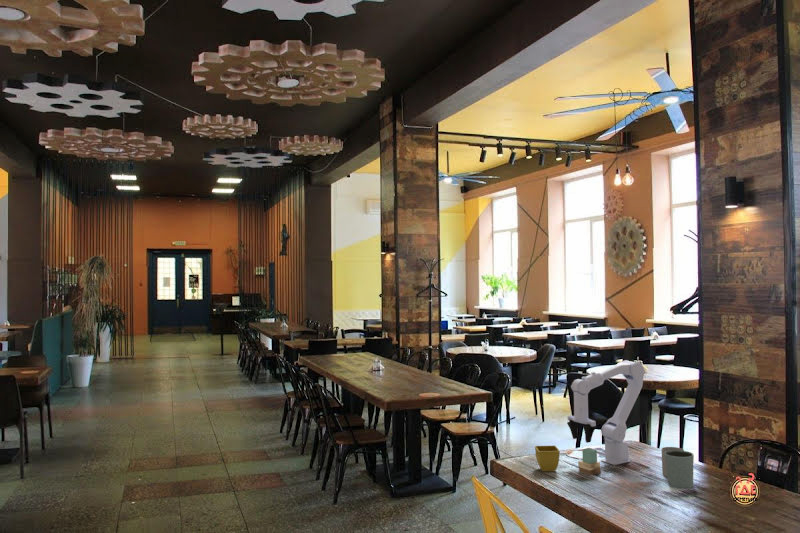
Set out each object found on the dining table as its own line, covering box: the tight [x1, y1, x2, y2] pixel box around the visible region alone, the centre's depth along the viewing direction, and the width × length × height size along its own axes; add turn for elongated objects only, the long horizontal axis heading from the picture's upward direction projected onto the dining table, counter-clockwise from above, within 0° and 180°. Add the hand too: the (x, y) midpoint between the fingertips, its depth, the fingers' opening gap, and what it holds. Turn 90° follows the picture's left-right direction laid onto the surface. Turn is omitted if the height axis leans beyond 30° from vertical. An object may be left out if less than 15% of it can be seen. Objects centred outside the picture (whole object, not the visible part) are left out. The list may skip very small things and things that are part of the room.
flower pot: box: [534, 445, 561, 472], centre depth 273 cm, size 9×9×9 cm
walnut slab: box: [578, 467, 602, 476], centre depth 269 cm, size 6×6×2 cm
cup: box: [661, 446, 685, 478], centre depth 262 cm, size 8×8×10 cm
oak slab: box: [577, 459, 601, 470], centre depth 269 cm, size 6×6×2 cm
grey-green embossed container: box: [665, 450, 695, 490], centre depth 249 cm, size 10×10×12 cm
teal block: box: [581, 447, 598, 464], centre depth 269 cm, size 4×4×5 cm
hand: (581, 440), depth 279 cm, fingers open, 7 cm apart
